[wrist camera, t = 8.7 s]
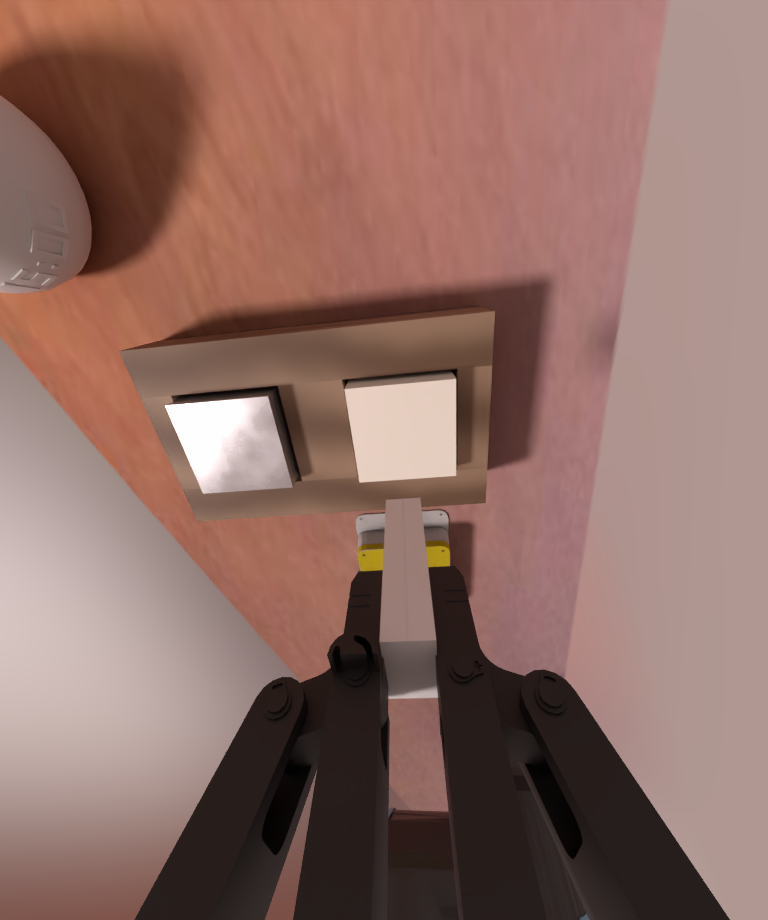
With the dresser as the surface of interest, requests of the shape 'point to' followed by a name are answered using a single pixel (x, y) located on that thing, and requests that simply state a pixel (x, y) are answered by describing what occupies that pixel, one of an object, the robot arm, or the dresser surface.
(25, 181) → the toy character
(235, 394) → the steel key
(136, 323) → the dresser surface
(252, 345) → the brown wooden flat block
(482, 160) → the dresser surface
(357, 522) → the emergency button
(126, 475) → the dresser surface
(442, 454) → the cream key
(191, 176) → the dresser surface
